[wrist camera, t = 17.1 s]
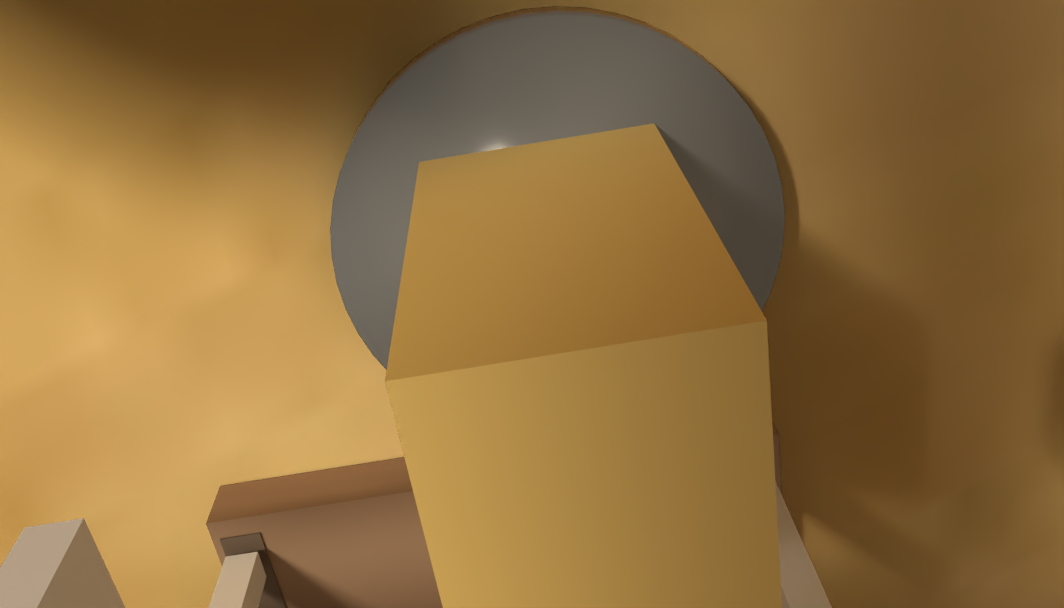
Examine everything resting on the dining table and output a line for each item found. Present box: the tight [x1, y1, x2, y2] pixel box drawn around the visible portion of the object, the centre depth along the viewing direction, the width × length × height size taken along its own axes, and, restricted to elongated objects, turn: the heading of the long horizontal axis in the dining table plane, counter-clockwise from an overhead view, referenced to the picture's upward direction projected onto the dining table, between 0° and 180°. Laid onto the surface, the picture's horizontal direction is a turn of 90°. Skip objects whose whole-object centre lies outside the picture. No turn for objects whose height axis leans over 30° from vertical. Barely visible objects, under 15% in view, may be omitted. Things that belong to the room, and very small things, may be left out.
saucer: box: [330, 6, 785, 370], centre depth 23 cm, size 10×10×1 cm
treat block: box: [385, 124, 782, 608], centre depth 18 cm, size 5×5×9 cm
